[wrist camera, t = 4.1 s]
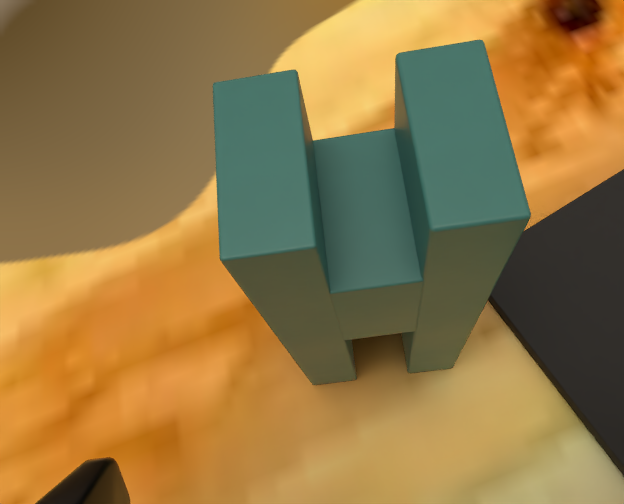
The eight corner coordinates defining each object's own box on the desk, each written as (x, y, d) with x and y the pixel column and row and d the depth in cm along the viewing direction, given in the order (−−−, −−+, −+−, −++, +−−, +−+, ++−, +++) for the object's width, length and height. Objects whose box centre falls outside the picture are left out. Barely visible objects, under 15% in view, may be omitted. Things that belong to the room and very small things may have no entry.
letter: (435, 272, 22) (484, 36, 10) (453, 368, 20) (534, 216, 9) (303, 290, 22) (211, 81, 11) (312, 385, 21) (218, 260, 9)
